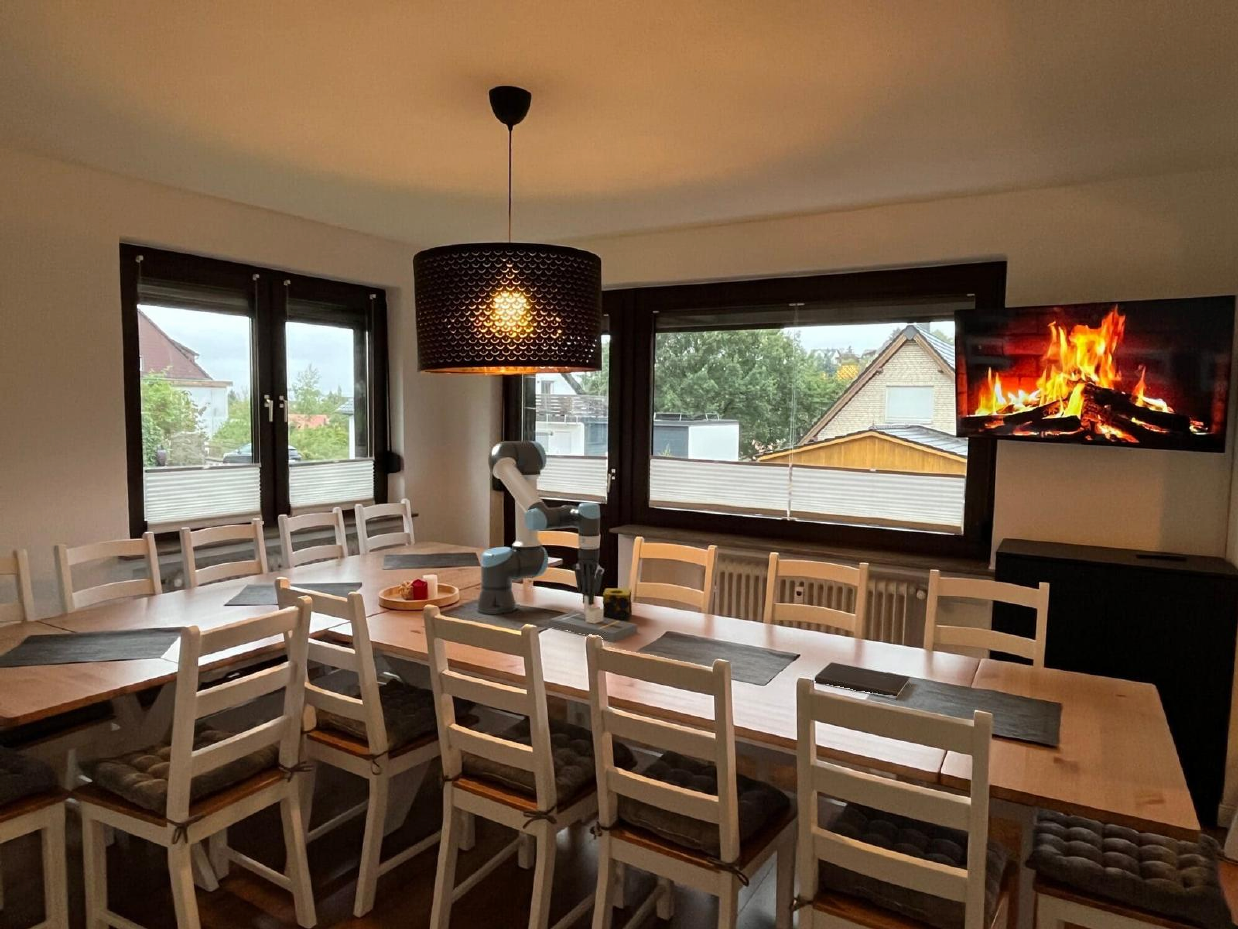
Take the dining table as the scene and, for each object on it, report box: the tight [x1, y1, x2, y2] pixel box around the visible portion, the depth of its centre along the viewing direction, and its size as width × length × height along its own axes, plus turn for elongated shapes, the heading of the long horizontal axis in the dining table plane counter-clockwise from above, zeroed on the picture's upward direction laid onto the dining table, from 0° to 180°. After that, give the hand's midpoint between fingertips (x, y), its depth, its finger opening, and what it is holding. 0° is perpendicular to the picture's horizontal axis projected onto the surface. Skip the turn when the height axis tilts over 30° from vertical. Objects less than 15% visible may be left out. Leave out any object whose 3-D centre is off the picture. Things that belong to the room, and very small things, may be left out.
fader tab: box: [586, 606, 603, 624], centre depth 271 cm, size 4×5×5 cm
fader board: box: [549, 610, 638, 643], centre depth 271 cm, size 28×14×3 cm, turn 55°
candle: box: [602, 587, 633, 622], centre depth 288 cm, size 10×10×10 cm
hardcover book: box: [813, 661, 911, 696], centre depth 223 cm, size 16×23×2 cm
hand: (588, 613), depth 272 cm, fingers closed
